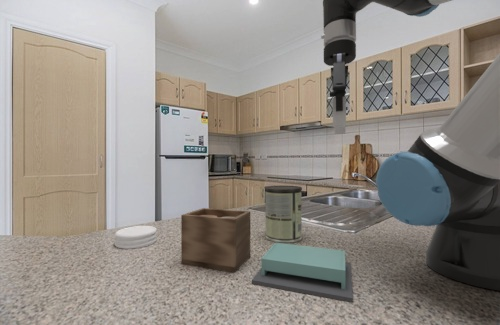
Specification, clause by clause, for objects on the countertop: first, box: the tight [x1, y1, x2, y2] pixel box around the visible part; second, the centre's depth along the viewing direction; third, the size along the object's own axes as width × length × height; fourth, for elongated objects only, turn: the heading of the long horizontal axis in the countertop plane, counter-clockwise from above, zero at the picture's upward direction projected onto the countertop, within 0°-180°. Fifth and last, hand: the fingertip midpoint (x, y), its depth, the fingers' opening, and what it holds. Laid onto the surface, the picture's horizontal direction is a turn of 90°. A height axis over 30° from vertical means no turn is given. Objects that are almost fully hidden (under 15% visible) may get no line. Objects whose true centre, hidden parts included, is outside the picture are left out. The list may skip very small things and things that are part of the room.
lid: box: [260, 242, 346, 290], centre depth 45 cm, size 14×10×3 cm
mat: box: [251, 261, 354, 303], centre depth 45 cm, size 16×14×1 cm
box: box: [180, 207, 251, 273], centre depth 52 cm, size 12×8×10 cm
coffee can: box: [264, 185, 303, 244], centre depth 68 cm, size 10×10×14 cm
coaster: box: [114, 225, 158, 250], centre depth 64 cm, size 10×10×4 cm
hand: (339, 130), depth 60 cm, fingers open, 13 cm apart
